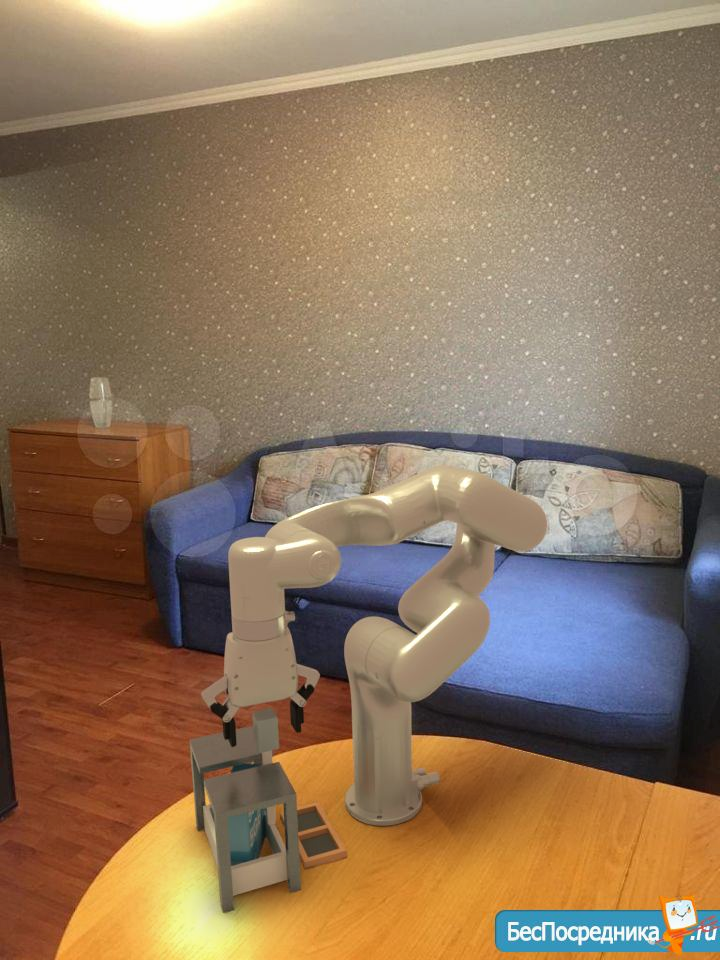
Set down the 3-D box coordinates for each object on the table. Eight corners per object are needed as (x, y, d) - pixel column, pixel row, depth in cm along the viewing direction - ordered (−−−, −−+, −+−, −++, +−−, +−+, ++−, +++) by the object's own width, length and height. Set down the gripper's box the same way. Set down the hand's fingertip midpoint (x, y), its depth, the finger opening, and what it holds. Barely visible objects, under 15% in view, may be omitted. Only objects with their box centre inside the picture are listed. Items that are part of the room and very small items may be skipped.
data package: (251, 883, 110) (246, 807, 108) (220, 882, 110) (214, 806, 108) (268, 829, 122) (264, 759, 119) (240, 828, 122) (235, 758, 120)
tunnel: (263, 808, 127) (258, 724, 124) (301, 889, 109) (296, 793, 106) (196, 825, 123) (189, 739, 120) (223, 913, 105) (215, 813, 102)
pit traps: (318, 808, 127) (318, 801, 127) (346, 857, 115) (346, 850, 115) (280, 818, 125) (279, 811, 124) (305, 869, 113) (304, 862, 113)
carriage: (267, 812, 125) (260, 689, 121) (297, 876, 111) (290, 738, 106) (204, 829, 122) (195, 702, 117) (226, 897, 107) (216, 755, 103)
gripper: (308, 607, 117) (312, 712, 120) (193, 625, 111) (200, 735, 114) (325, 624, 110) (328, 735, 113) (202, 644, 104) (210, 761, 107)
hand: (264, 735), depth 114 cm, fingers open, 9 cm apart
